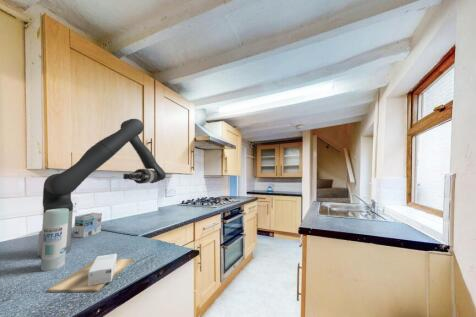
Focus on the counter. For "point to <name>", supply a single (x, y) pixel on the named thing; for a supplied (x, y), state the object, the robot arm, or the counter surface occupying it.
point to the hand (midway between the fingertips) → (126, 176)
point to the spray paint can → (54, 239)
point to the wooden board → (85, 279)
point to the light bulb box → (87, 224)
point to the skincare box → (102, 269)
